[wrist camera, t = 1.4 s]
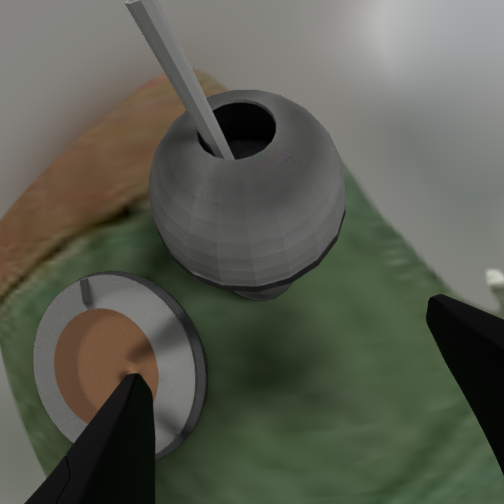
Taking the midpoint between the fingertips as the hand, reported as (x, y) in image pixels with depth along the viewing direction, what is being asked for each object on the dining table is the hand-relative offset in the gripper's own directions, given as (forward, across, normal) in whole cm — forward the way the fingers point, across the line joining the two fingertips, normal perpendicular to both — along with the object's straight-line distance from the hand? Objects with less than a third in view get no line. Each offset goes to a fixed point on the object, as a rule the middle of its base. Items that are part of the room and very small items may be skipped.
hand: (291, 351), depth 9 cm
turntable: (+10, +13, +8) cm, 18 cm away
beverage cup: (+13, 0, +5) cm, 14 cm away
